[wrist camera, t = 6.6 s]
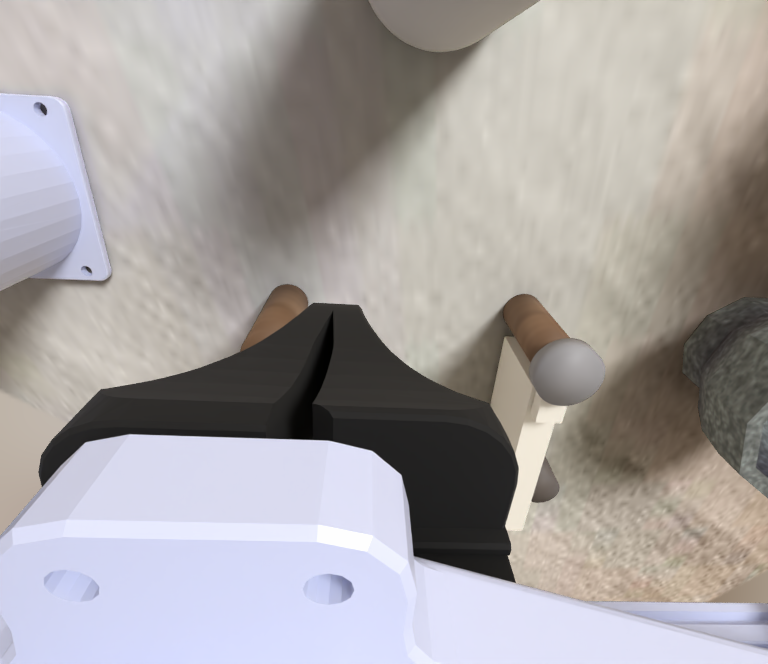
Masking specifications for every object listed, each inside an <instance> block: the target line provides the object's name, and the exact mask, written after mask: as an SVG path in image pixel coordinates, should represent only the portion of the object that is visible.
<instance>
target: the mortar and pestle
mask: <svg viewBox="0 0 768 664" xmlns="http://www.w3.org/2000/svg"><path fill="white" fill-rule="evenodd" d="M682 373H683V374H685V375H686V376H687V377H688V378H689V379H690V380H691V381H692V382H693V383H694V384H696V385H697V386H698V387H699V388H700V389H699V401H698V410H699V416H700V421H701V427H702V431H703V432H704V433H705V435H706V436H707V438H708V439H709V441H710V442H711V443H712V445H713V446H714V448H715V449H716V450H717V452H718V453H719V454H720V455H721V456H722V457H723V458H724V459H725V460H726V461H727V462H728V463H729V464H730V465H731V466H732V467H733V468H734V469H735V470H736V471H737V472H738V473H739V474H740V475H741V476H742V477H743V478H744V479H746V480H747V481H748V482H749V483H750V484H752V485H753V486H754V487H755V488H756V489H757V490H759V491H760V492H761V493H762V494H763V495H765V496H766V497H767V498H768V298H747V297H744V298H742V299H740V300H738V301H736V302H734V303H732V304H730V305H728V306H726V307H724V308H722V309H720V310H718V311H716V312H714V313H712V314H710V315H707V317H706V318H705V319H704V320H703V322H702V323H701V324H700V325H699V327H698V328H697V329H696V330H695V332H694V333H693V334H692V335H691V337H690V338H689V339H688V340H687V342H686V343H685V344H684V354H683V370H682Z"/></svg>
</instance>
